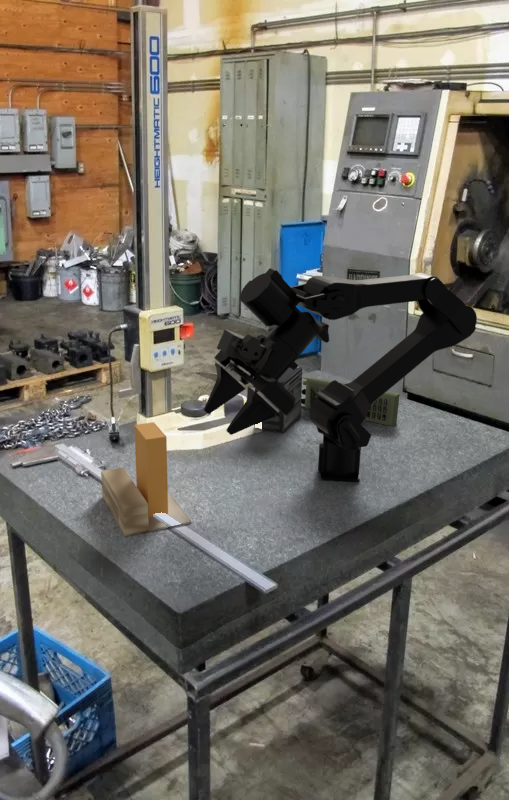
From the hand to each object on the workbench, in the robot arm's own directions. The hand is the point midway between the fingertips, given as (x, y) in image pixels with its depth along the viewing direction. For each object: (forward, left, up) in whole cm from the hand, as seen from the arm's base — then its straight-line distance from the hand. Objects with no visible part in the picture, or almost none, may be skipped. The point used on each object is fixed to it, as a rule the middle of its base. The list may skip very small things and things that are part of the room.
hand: (216, 422), depth 116 cm
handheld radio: (-19, -40, -13) cm, 46 cm away
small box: (-7, -33, -13) cm, 36 cm away
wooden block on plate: (+9, +5, -13) cm, 16 cm away
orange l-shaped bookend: (+10, +6, -12) cm, 17 cm away
